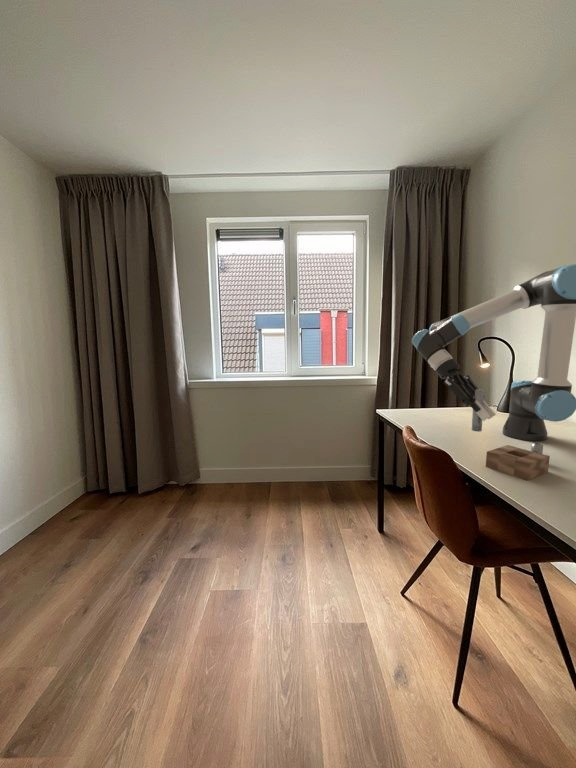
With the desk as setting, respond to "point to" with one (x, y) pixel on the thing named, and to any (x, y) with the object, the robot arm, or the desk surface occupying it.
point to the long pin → (476, 419)
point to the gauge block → (517, 462)
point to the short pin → (537, 448)
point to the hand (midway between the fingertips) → (489, 417)
